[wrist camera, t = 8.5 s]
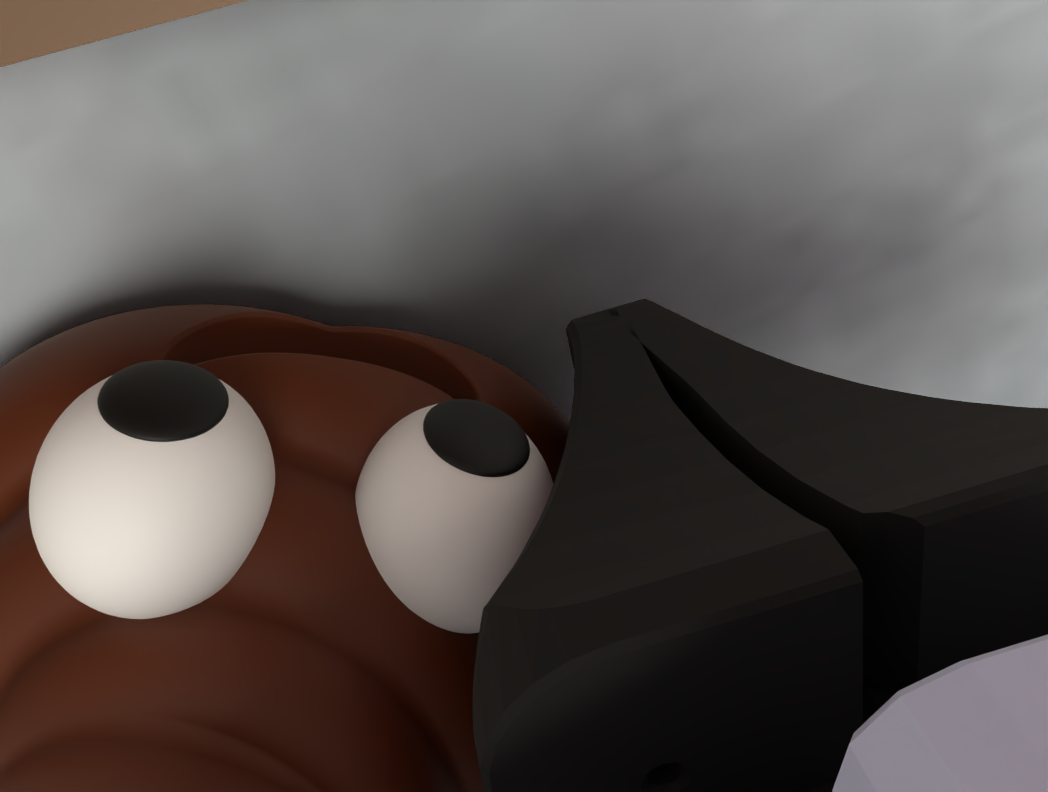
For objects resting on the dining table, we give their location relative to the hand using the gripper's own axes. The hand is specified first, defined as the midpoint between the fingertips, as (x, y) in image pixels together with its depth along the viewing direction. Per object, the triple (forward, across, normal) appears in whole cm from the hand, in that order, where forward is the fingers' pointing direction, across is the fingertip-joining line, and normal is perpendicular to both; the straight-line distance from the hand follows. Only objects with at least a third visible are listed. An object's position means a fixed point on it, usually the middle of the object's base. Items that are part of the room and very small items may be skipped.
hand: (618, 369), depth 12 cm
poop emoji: (+1, +5, +2) cm, 6 cm away
